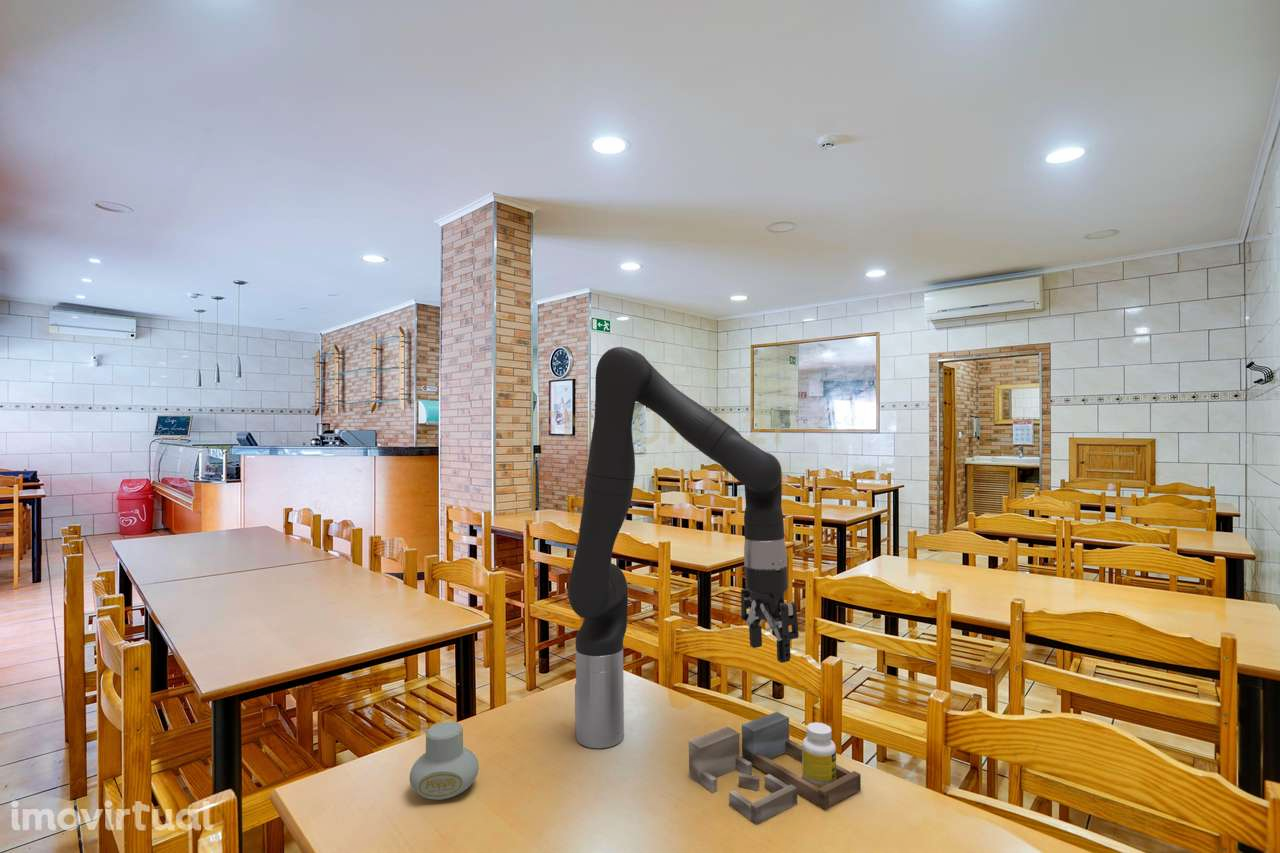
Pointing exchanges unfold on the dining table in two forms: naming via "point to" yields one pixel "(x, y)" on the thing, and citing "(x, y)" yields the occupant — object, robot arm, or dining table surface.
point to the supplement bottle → (818, 755)
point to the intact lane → (773, 739)
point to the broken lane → (723, 756)
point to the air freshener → (444, 764)
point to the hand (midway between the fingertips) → (769, 653)
